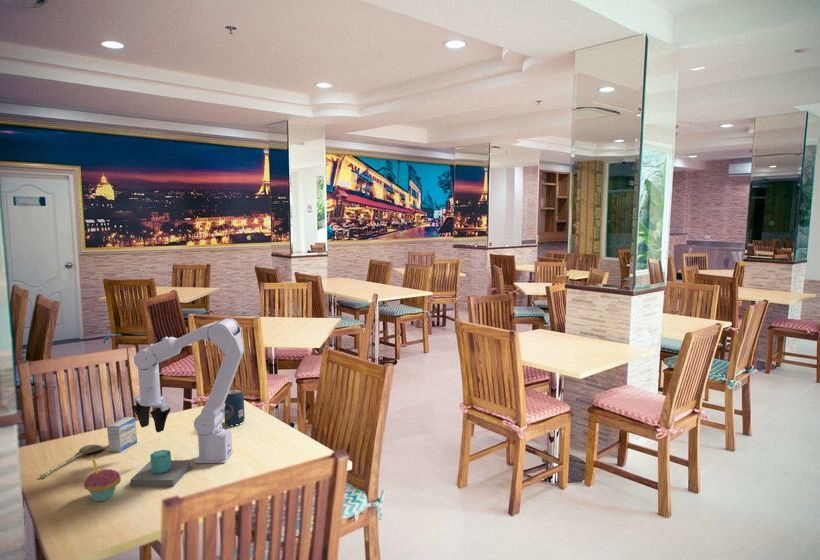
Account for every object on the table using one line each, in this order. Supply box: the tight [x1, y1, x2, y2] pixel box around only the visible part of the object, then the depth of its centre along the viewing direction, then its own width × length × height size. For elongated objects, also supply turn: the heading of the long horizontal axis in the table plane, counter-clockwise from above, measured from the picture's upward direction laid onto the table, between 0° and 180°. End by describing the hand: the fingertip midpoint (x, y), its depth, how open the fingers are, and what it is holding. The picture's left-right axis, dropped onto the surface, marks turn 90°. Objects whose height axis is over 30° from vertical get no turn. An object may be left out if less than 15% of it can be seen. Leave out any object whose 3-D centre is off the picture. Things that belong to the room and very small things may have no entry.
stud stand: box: [129, 459, 192, 488], centre depth 158 cm, size 12×12×6 cm
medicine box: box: [106, 416, 138, 453], centre depth 177 cm, size 8×4×9 cm, turn 168°
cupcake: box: [83, 455, 122, 502], centre depth 146 cm, size 9×8×12 cm
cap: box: [149, 449, 172, 473], centre depth 157 cm, size 5×5×4 cm
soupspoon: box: [39, 443, 106, 479], centre depth 167 cm, size 22×3×7 cm
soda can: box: [224, 388, 246, 426], centre depth 197 cm, size 7×7×12 cm
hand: (152, 428), depth 169 cm, fingers open, 7 cm apart
